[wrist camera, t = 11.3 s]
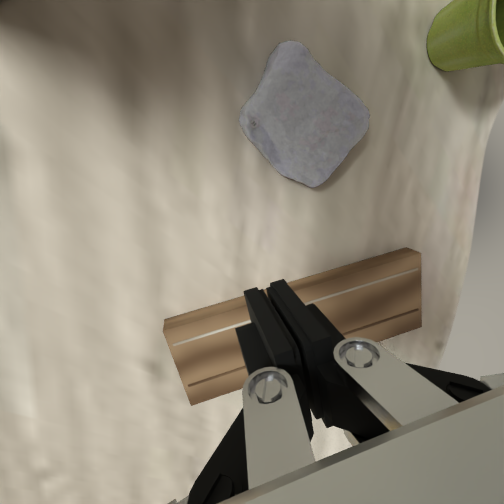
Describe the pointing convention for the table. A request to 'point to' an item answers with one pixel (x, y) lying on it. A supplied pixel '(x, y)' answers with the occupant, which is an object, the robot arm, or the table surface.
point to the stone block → (302, 116)
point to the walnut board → (309, 291)
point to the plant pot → (467, 35)
